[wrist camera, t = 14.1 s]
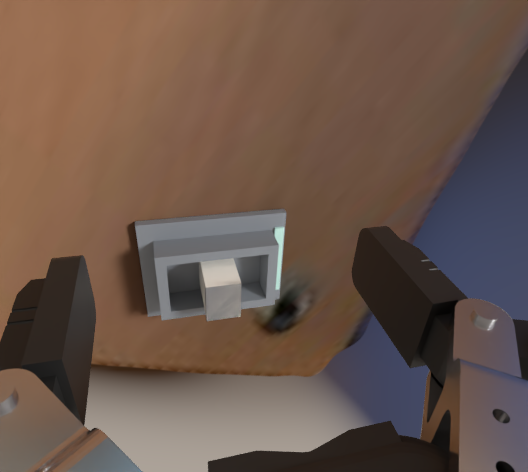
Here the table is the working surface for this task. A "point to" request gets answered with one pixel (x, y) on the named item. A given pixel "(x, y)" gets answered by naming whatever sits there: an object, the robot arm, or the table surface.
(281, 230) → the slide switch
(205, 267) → the block
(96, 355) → the table surface
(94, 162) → the table surface
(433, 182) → the table surface
